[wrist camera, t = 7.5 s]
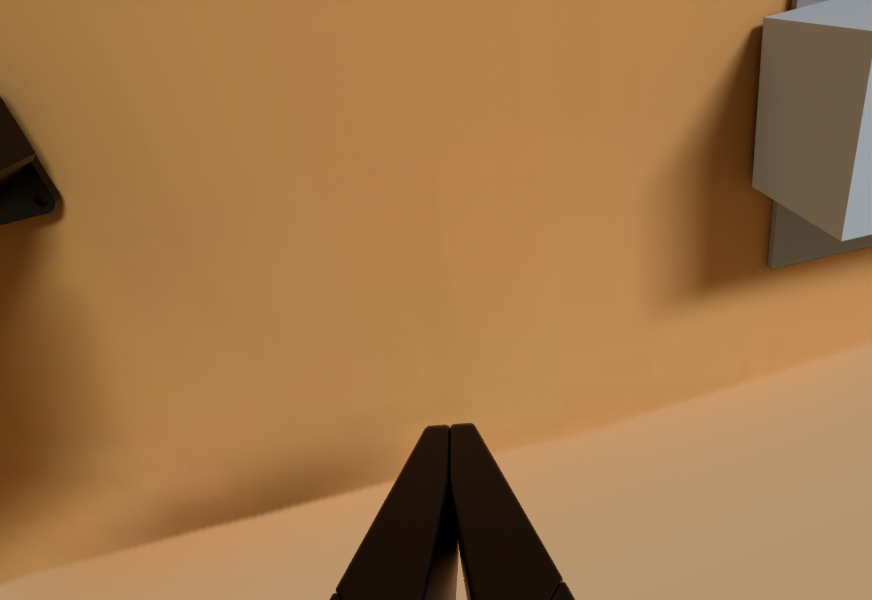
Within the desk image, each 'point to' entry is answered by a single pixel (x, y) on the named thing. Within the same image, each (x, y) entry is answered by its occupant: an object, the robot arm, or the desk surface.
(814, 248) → the rubber mat
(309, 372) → the desk surface
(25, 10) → the desk surface
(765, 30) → the slate block
